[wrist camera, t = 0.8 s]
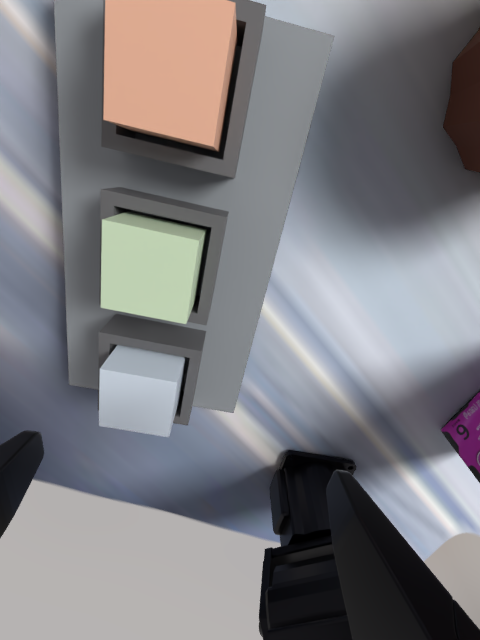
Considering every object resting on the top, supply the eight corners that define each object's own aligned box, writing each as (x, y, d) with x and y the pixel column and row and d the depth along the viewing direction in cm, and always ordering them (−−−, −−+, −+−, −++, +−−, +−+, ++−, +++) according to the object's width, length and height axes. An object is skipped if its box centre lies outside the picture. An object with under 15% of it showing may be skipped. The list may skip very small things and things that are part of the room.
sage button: (206, 229, 15) (198, 240, 13) (195, 300, 17) (186, 324, 14) (127, 211, 15) (101, 219, 12) (123, 286, 17) (100, 307, 14)
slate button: (186, 352, 19) (177, 382, 16) (178, 402, 20) (168, 437, 18) (121, 340, 18) (99, 368, 15) (118, 391, 20) (98, 425, 17)
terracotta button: (237, 41, 12) (235, 2, 9) (219, 152, 14) (213, 146, 11) (137, 13, 12) (105, -35, 9) (131, 130, 14) (103, 119, 11)
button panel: (323, 52, 15) (353, 7, 11) (234, 395, 24) (232, 439, 20) (76, -16, 14) (8, -95, 10) (82, 368, 23) (48, 409, 19)
